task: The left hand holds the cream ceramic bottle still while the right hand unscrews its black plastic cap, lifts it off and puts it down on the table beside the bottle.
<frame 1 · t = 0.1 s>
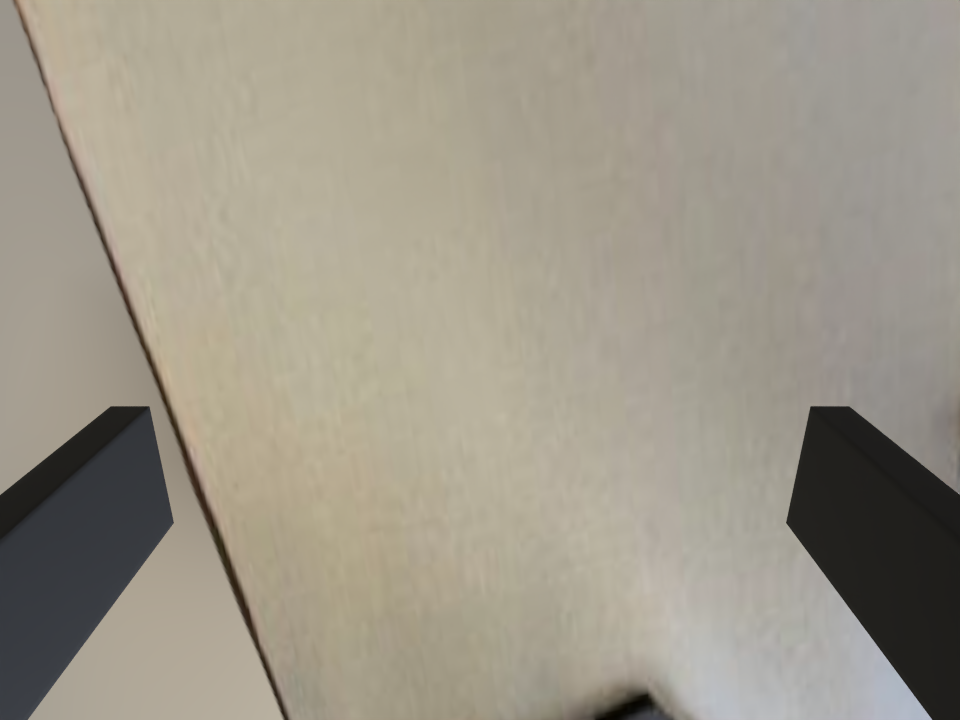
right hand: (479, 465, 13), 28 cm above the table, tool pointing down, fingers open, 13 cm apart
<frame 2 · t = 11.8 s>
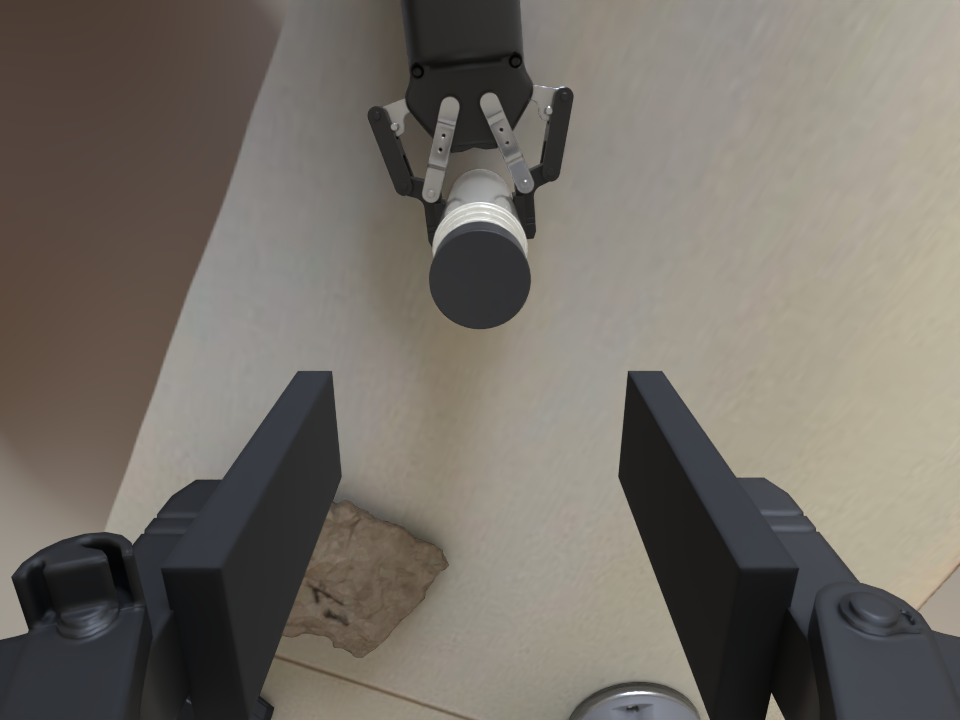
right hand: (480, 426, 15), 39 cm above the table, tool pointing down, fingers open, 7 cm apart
left hand: (483, 248, 46), fingers closed on bottle, 5 cm apart
stone: (331, 541, 63), on the table
cap: (479, 279, 27), point 25 cm above the table, screwed on, not yet turned
bottle: (480, 200, 51), on the table, touching left hand
graphics card box: (200, 672, 69), on the table
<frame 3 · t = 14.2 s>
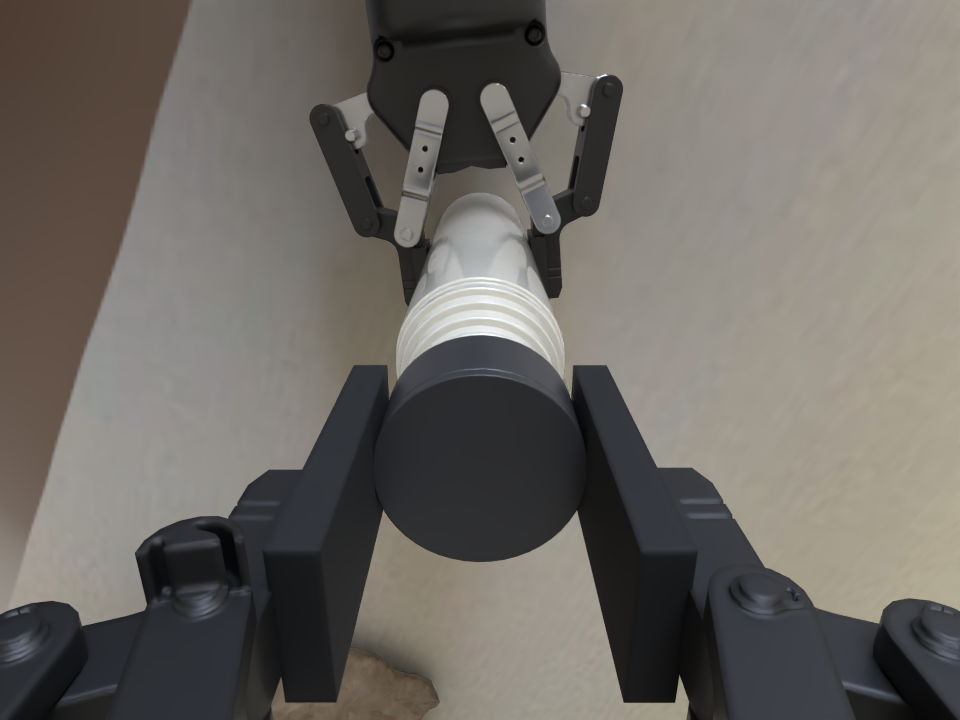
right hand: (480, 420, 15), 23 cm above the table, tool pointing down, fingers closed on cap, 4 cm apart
left hand: (485, 310, 32), fingers closed on bottle, 5 cm apart
stone: (287, 668, 49), on the table
cap: (480, 466, 13), point 25 cm above the table, screwed on, not yet turned, touching right hand
bottle: (480, 236, 37), on the table, touching left hand
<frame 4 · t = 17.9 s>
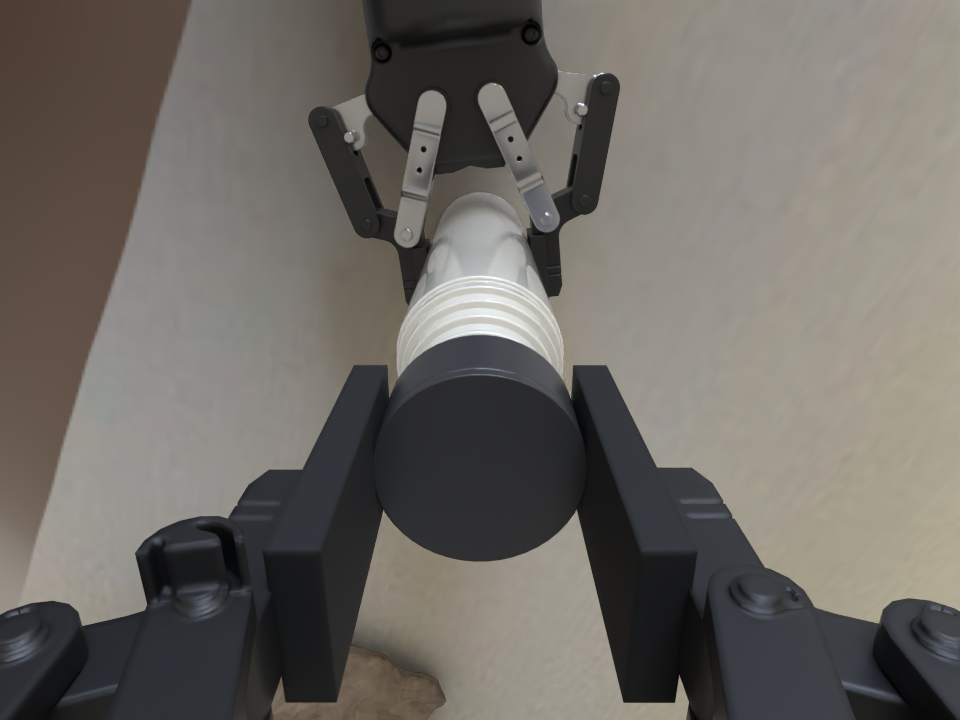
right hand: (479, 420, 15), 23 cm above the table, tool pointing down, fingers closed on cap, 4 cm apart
left hand: (486, 309, 32), fingers closed on bottle, 5 cm apart
stone: (294, 668, 49), on the table
cap: (480, 466, 13), point 26 cm above the table, turned 125° so far, risen 0.1 cm, still on its thread, touching right hand
bottle: (480, 235, 37), on the table, touching left hand
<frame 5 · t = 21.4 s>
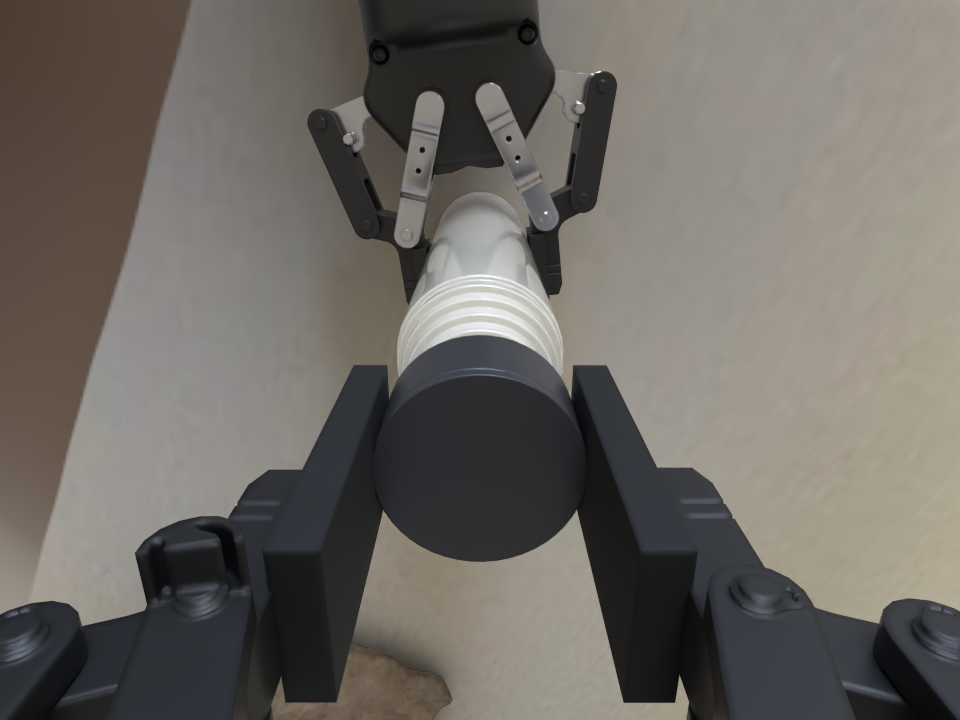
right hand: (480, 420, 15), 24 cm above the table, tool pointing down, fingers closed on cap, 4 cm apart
left hand: (487, 308, 32), fingers closed on bottle, 5 cm apart
stone: (301, 669, 49), on the table
cap: (480, 466, 13), point 26 cm above the table, turned 250° so far, risen 0.3 cm, still on its thread, touching right hand
bottle: (480, 235, 37), on the table, touching left hand
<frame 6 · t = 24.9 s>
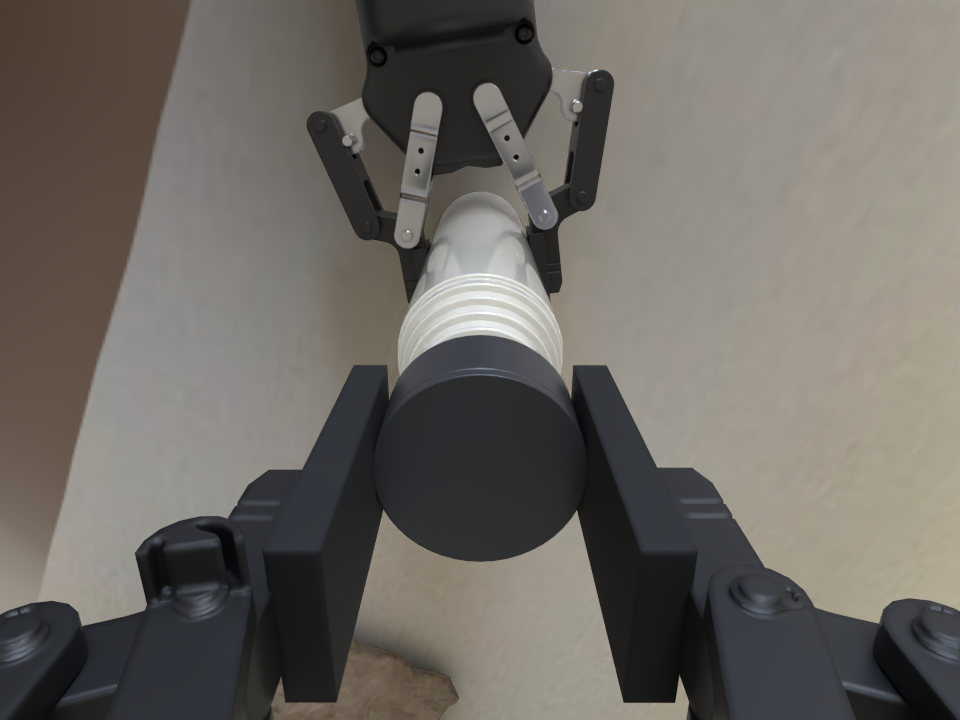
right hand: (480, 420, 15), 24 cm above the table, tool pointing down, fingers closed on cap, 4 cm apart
left hand: (487, 307, 32), fingers closed on bottle, 5 cm apart
stone: (308, 669, 49), on the table
cap: (480, 466, 13), point 26 cm above the table, turned 374° so far, risen 0.4 cm, still on its thread, touching right hand
bottle: (480, 234, 37), on the table, touching left hand
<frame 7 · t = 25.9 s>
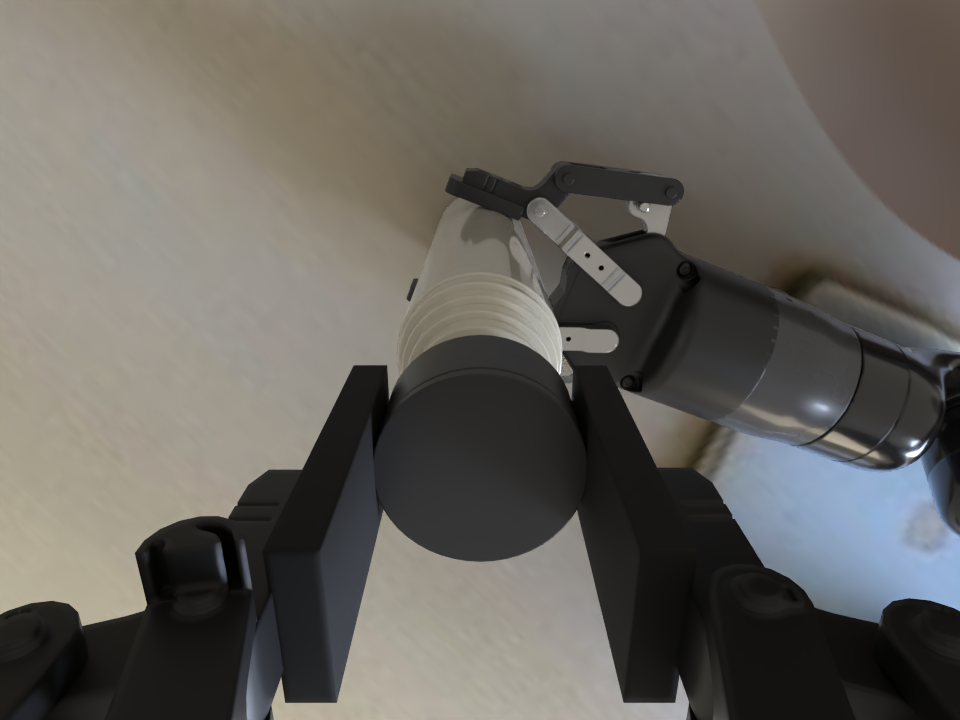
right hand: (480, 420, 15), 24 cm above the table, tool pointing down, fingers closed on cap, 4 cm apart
left hand: (429, 238, 31), fingers closed on bottle, 5 cm apart
cap: (480, 466, 13), point 26 cm above the table, off its thread, touching right hand
bottle: (480, 234, 37), on the table, touching left hand
when the right hand's fingers open (1 cm above the table, at t = 32.6 s): cap drops 1 cm, point 2 cm above the table.
when the left hand's fingers open (6 cm above the table, at t = 33.9 s): bottle stays where it is, on the table.
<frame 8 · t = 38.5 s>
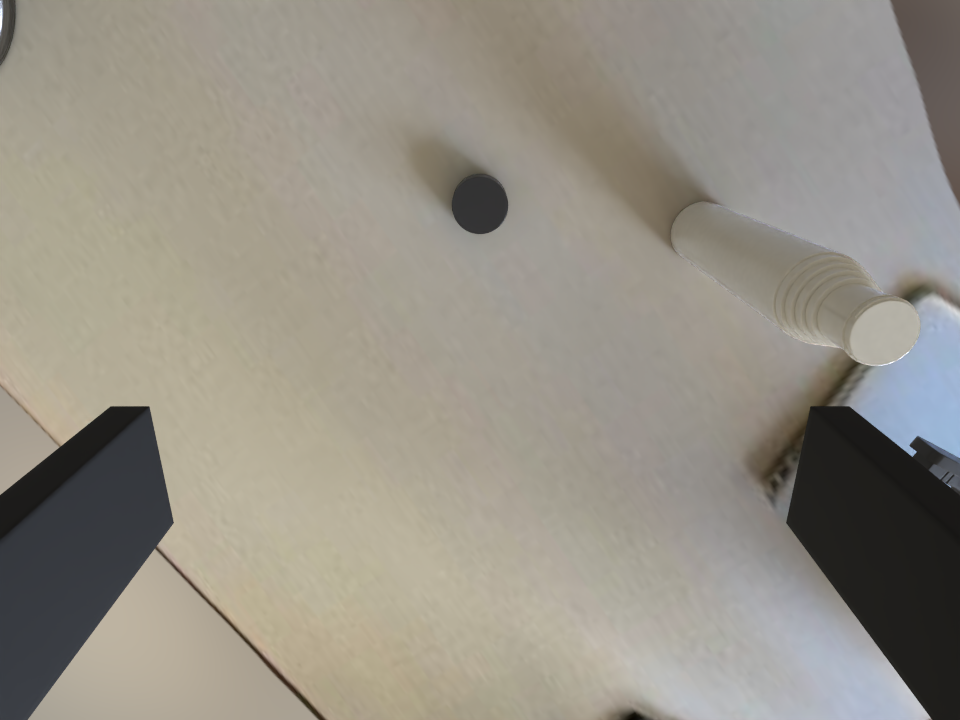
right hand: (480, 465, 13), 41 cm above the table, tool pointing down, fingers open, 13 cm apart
cap: (479, 205, 49), point 2 cm above the table, off its thread
bottle: (700, 232, 52), on the table
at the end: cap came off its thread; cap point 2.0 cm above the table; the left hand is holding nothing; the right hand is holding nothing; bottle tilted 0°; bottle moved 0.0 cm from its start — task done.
